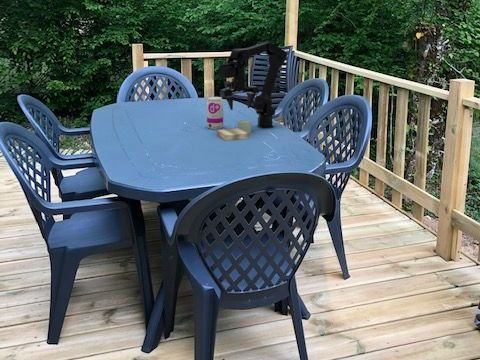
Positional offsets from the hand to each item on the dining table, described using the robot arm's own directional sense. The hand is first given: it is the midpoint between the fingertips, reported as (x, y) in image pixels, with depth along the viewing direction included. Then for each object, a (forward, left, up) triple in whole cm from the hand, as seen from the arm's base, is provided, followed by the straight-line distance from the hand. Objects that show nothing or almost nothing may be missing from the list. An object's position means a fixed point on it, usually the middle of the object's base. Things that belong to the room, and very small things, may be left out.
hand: (240, 109), depth 275 cm
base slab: (+7, +9, -12) cm, 16 cm away
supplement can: (+8, -13, -11) cm, 19 cm away
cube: (-2, +1, -11) cm, 11 cm away
